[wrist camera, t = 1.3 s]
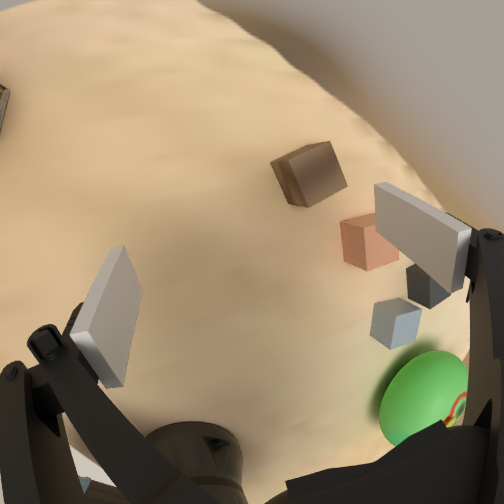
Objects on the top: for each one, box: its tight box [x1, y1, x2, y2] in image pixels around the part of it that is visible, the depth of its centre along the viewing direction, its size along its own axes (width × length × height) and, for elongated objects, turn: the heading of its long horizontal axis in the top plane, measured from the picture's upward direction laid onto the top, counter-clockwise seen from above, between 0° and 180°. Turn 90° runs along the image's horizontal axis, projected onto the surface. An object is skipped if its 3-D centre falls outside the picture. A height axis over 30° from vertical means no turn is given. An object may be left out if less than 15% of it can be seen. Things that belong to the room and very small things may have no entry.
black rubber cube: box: [406, 264, 451, 309], centre depth 41 cm, size 5×5×5 cm
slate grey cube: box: [370, 298, 422, 350], centre depth 41 cm, size 5×5×5 cm
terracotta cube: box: [340, 214, 399, 271], centre depth 36 cm, size 5×5×5 cm
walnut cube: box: [270, 141, 348, 208], centre depth 32 cm, size 5×5×5 cm
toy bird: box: [379, 351, 469, 446], centre depth 42 cm, size 18×17×15 cm
